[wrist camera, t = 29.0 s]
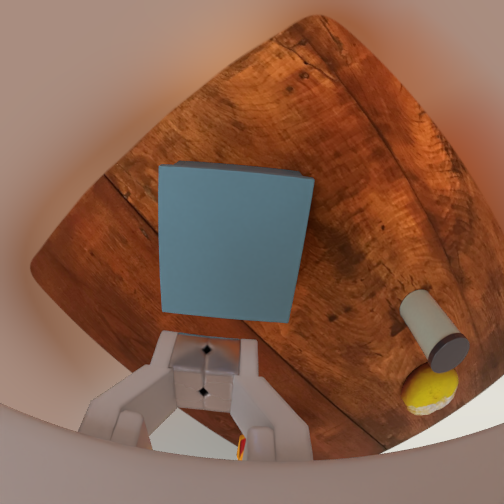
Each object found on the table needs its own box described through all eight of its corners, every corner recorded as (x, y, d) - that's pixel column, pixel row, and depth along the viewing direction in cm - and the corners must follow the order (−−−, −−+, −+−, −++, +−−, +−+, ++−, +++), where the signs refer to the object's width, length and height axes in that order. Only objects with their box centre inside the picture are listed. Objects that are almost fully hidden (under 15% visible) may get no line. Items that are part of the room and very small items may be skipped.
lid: (161, 164, 25) (158, 165, 24) (313, 177, 26) (314, 179, 25) (163, 307, 31) (162, 311, 31) (287, 318, 32) (288, 323, 31)
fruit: (387, 404, 48) (405, 429, 41) (405, 353, 47) (428, 374, 39) (434, 401, 49) (454, 422, 41) (452, 353, 48) (476, 371, 40)
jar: (425, 281, 38) (465, 329, 28) (436, 306, 40) (472, 354, 30) (393, 303, 40) (426, 357, 30) (406, 327, 42) (436, 380, 32)
